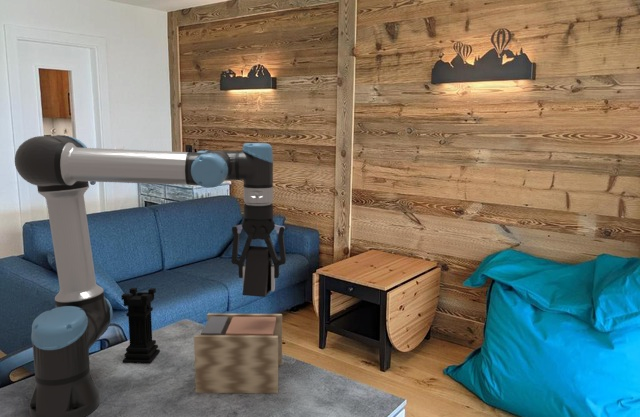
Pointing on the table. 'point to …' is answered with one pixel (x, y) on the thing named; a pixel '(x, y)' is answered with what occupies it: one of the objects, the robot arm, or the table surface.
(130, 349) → the chess piece
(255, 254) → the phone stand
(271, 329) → the trapdoor
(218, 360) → the frame
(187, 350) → the table surface
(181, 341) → the table surface
